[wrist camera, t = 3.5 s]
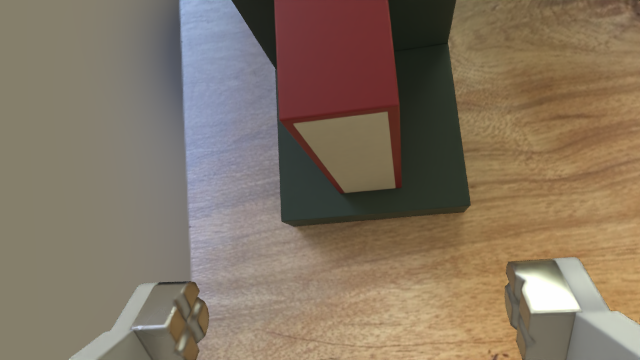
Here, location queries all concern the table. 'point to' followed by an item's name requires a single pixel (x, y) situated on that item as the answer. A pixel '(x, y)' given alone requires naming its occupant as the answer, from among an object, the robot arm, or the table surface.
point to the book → (341, 89)
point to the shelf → (415, 126)
